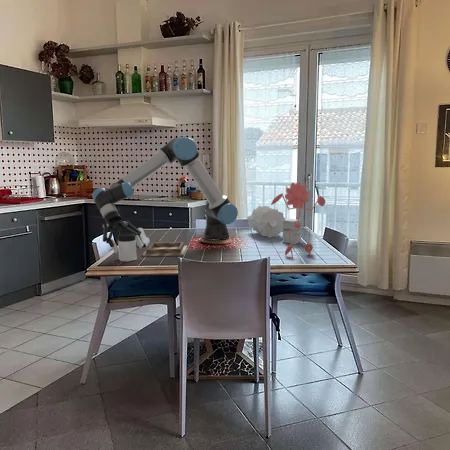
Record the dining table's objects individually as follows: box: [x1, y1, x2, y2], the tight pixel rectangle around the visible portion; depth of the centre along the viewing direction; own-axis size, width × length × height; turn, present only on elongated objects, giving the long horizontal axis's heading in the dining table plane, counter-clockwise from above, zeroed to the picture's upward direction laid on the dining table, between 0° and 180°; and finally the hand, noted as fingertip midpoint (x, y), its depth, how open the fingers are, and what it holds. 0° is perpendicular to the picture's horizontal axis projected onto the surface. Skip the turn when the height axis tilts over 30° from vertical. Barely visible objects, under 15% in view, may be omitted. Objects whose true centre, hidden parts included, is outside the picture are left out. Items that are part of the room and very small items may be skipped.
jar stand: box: [142, 241, 188, 257], centre depth 223 cm, size 20×19×3 cm
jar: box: [117, 232, 138, 262], centre depth 207 cm, size 9×8×12 cm
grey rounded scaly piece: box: [246, 205, 286, 239], centre depth 262 cm, size 18×18×25 cm
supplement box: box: [282, 218, 302, 245], centre depth 239 cm, size 7×7×13 cm
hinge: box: [135, 227, 151, 248], centre depth 244 cm, size 17×5×10 cm, turn 4°
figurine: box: [270, 181, 326, 259], centre depth 209 cm, size 15×26×35 cm, turn 103°
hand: (129, 249), depth 205 cm, fingers open, 13 cm apart
